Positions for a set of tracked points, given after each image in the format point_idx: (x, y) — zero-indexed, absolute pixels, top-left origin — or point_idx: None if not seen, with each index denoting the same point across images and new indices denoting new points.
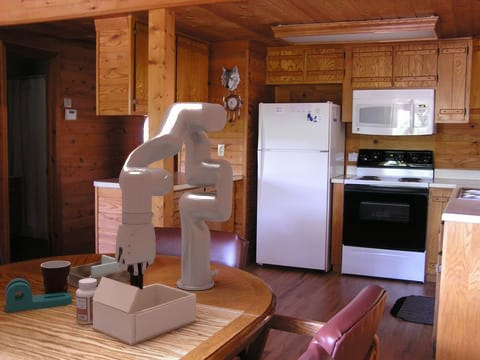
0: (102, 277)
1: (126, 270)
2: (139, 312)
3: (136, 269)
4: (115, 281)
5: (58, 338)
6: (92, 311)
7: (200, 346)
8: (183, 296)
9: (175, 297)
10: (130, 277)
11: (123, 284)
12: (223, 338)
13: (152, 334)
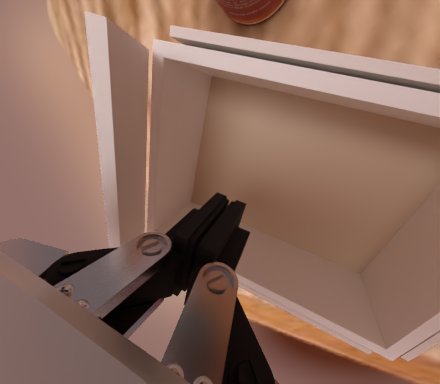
0: (88, 23)
1: (101, 249)
2: None
3: (128, 319)
4: (103, 175)
5: (131, 35)
6: (222, 3)
7: (237, 296)
8: (408, 311)
9: (435, 270)
10: (169, 232)
11: (110, 228)
12: (283, 325)
13: None
